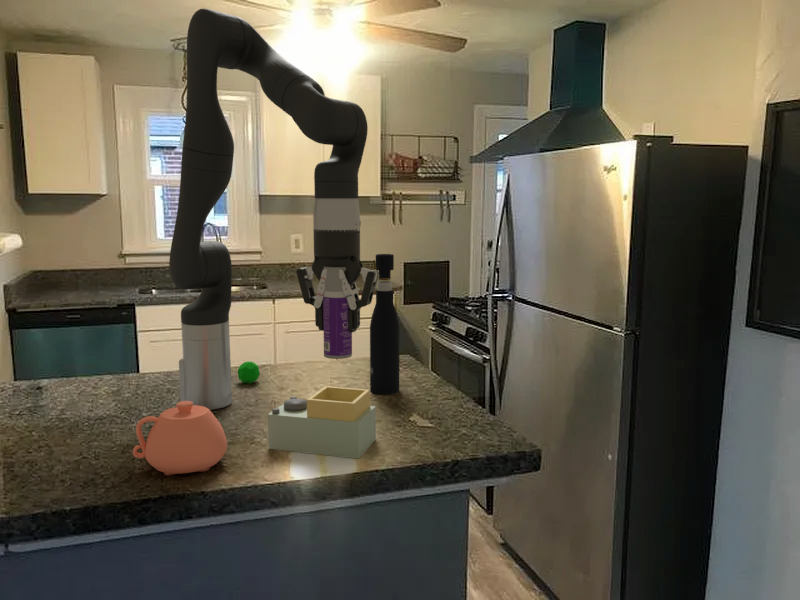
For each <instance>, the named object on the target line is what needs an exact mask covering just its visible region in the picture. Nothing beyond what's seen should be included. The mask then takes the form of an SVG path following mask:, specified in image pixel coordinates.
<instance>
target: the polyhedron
mask: <svg viewBox="0 0 800 600" xmlns="http://www.w3.org/2000/svg"><path fill="white" fill-rule="evenodd" d="M260 373H261V372H260V369H259V365H258V364H256V363H255V362H253V361H244V362H243V363H242V364H240V365H239V366H238V369H237V375H238V379H239V380H240V382H242V383H244V384H252V383H254V382H256V381H257V380H258V379H259V377H260Z"/></svg>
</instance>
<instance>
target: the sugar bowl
mask: <svg viewBox="0 0 800 600" xmlns="http://www.w3.org/2000/svg"><path fill="white" fill-rule="evenodd" d="M149 422H151V423H153V422H154V423H153V425H152V428H151V429H150V431H149V433H148V435H147V439H146V441H145V439H144V436H143V432H142V427H143V425H144V424H145V423H149ZM135 433H136V437H137V440H138V442H139V444H138V445H135V446H134V447H133V449H132V454H133V456H134V457H135V458H136V459H145V460H146V461H147V463H148V464H149V465H151V466H152V467H153V468H154V469H155V470H157V471H158V472H162V473H163V474H164V475H165V476H174V475H175V474H176V475H178V474H189V473H196V472H199V473H200V472H207V471H210V469H211V467H213V466H215V465H216V464H217V463H219V461H220V460H221V459H222V458H223V457H224V456H225V454H226V451H227V449H228V441H227V436H226V433H225V431H224V428H223V426H222V425H221V423H220V421H219V420H218V419H217V417H216V416H215V415H214V414H213V412H212V411H211V410H209V409H208V408H206V407H204V406H198V405H193V402H191V401H181V400H180V401H179V402H177V403H176V406H175V407H174V406H173V407H170V408H168V409H166V410H163V411H162V412H161V413H160V414H159V416H158V417H157V416H154V415H148V416H145V417H143V418H141V419H139V421H137V422H136V426H135ZM139 449H141V452H138V450H139Z"/></svg>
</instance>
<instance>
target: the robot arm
mask: <svg viewBox="0 0 800 600" xmlns="http://www.w3.org/2000/svg"><path fill="white" fill-rule="evenodd" d="M186 35H187V36H186V106H185V107H186V108H185V121H184V123H185V124H184V132H183V133H184V134H183V140H182V141H183V142H182V148H181V162H180V180H179V181H180V183H179V192H178V193H179V195H178V203H177V211H176V218H175V223H174V230H173V235H172V240H171V247H170V250H169V251H170V253H169V264H168V265H169V275H170V279H171V281H172V283H173V284H174V286H175V287H176V288H178V289H179V290H197V289H201V292H200V295H198V297H196V299H194V300H193V301H192V302H190V303H189V304H186V305H185V306H184V307H182V309H181V311H180V323H181V325H180V326H181V340H182V341H181V342H182V343H181V344H182V358H180V359H179V361H178V373H179V377H178V378H179V392H180V393H179V394H180V402H181V401H191V402H193V405H198V406H204V407H206V408H208V409H209V410H210V411H211V410H217V409H218V410H219V409H222V408H225V407H228V406H229V405H231V404H232V403H233V401H232V400H233V399H232V398H233V397H232V396H233V395H232V394H233V392H232V367H231V366H232V365H231V364H232V363H231V341H230V340H231V339H230V338H231V337H230V317H229V316H230V310H231V307H232V281H233V280H232V279H233V277H232V276H233V270H232V269H233V267H232V265H233V264H232V259H231V254H230V251H229V249H228V247H227V246H226V245H225V244H224V243H223V242H221V241H217V240H208V241H207V240H206V241H205V240H204V241H202V240H201V239H202V233H203V228H204V226H205V224H206V220H207V218H208V217H209V214H210V213H211V211H212V209H213V208H214V207H215V205H216V204H217V203H218V202H219V201H220V198H221V197H222V195H223V194H224V192H225V191H226V189H227V188H228V186H229V183H230V182H231V178H232V173H233V164H234V156H235V155H234V154H235V142H234V136H233V135H232V131H231V128H230V126H229V124H228V121H227V119H226V116H225V115H224V113H223V112H224V111H223V109H222V107H221V104H220V100H219V96H218V85H217V84H218V68H220V69H227V70H238V71H241V72H243V73H246V74H247V75H250V76H251V77H254V78H255V79H256V80H258V81H259V84H260V87H261V90H262V92H263V93H264V95H265V96H266V97H267V98H268V100H270V102H272V103H273V104H274V105H275V106H276V107H278V108H279V109H281V110H282V111H283V112H285V113H286V114H287V115H288V116H289V117H291V119H292V120H293V121H294V123H295V125H296V126H297V127H298V129H299V130H300V131H301V132H302V133H303V134H304V136H305V137H307V138H308V139H309V140H311V141H312V142H315V143H317V144H321V145H326V146H327V145H329V146H332V149H331V153H330V157H329V159H328V160H323V161H320V162H318V163H317V164H316V165H315V168H314V173H313V174H314V175H313V180H314V183H313V184H314V201H313V202H314V204H313V210H312V211H313V213H312V215H313V217H312V218H313V229H312V230H313V257H314V259H313V262H312V265H311V266H308V267H304V266H303V267H301V268H300V267H299V268H297V269H296V270H295V271H296V276H297V281H298V284H299V288H300V292H301V295H302V299H303V302H304V304H306V305H311V306H313V307H314V314H315V315H314V319H315V320H314V323H315V326H316V328H317V327H318V330H319V331H324V326H323V295H324V290H325V279H326V274H327V269H324V266H326V267H346V270H345V271H344V270H342V269H339V279H340V280H342V289H343V292H344V295H345V297H346V298H347V301H348V304H349V307H350V310H348V326H349V332H352V333H355V332H357V329H359V328H360V326H361V309H362V308H363V307H364V308H365V307H367V306H369V305H370V304H372V301H373V298H374V297H373V296H374V294H375V290H376V286H377V283H378V280H379V270H376V269H370V268H366V267H364V266H363V264H362V262H361V223H362V222H361V221H362V220H361V216H360V215H361V211H360V204H359V203H360V202H359V170H360V166H361V164H362V159H363V155H364V152H365V147H366V141H367V137H368V132H369V130H368V120H367V116H366V114H365V112H364V110H363V108H362V107H361V106H360V105H359V104H357V103H355V102H353V101H348V100H343V99H342V100H341V99H335V98H332V97H328V96H326V95H325V92H324V91H325V90H324V89H323V87H322V86H321V85H320V84H319V83H318V82H317V80H315V79H314V78H312V77H311V76H309V75H308V74H306V73H305V72H304V71H302V70H301V69H299V68H298V67H296V66H294V65H293V64H292V63H290V62H289V61H288V60H286V59H285V58H284V57H283V56H282V55H281V54H280V53H278V51H276V50H275V48H273V47H272V46H271V45H270V44H269V43H268V41H266V40H265V38H264V37H263V36H262V35H261V34H260V33H259V31H257V29H255V28H254V27H253V25H252V24H250V22H248V21H247V20H246V19H244V18H242V17H240V16H237V15H234V14H233V15H232V14H228V13H226V12H221V11H218V10H214V9H211V8H203V7H202V8H199V9H198V10H196V11H195V12H194V13H193V15H192V16H191V18H190V21H189V24H188V29H187V34H186ZM314 275H315V277H316V278H317V279H318V281H319V283H318V286H317V289H316V292H315V287H314V285H313V284H314V283H313V280H312V279H313V278H314ZM360 275H362V281H363V282H364V283H363V284H364V285H363V288H362V289H363V290H362V292H361V297H360V296H359V289H358V286H357V283H356V282H357V280H358V278H359V277H360ZM323 282H324V283H323ZM344 283H345V284H344Z"/></svg>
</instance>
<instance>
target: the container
mask: <svg viewBox="0 0 800 600" xmlns="http://www.w3.org/2000/svg"><path fill="white" fill-rule="evenodd" d="M324 269H327V274H326V279H325V290H324V295H323V326H324V330H323V356H324V358H327V359H330V360H331V359H332V360H342V359H343V360H344V359H349V358H351V357H352V356H353V332H349V326H348V310H350V307H349V304H348V301H347V298H346V297H345V295H344V292H343V289H342V280H340V279H339V269H342V270H344V271H345V270H346V267H326V266H324ZM323 283H324V282H323ZM344 284H345V283H344Z"/></svg>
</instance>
